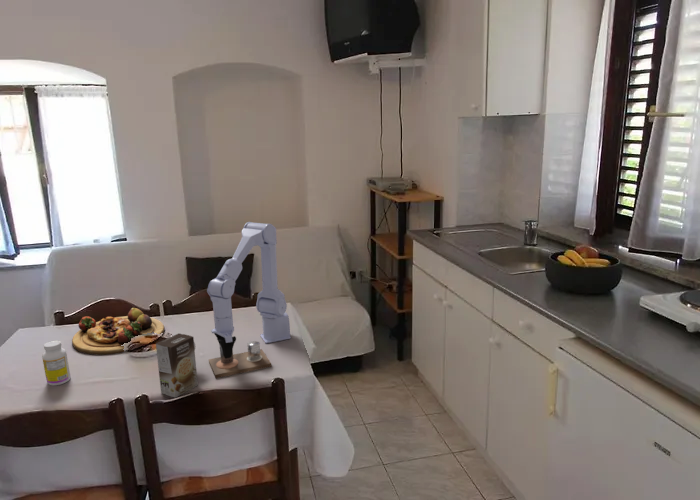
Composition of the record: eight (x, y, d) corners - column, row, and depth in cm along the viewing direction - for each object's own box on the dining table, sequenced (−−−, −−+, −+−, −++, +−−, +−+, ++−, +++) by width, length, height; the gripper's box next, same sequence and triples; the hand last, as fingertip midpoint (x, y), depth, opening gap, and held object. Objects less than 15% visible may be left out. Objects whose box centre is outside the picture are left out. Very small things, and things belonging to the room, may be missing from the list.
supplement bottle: (52, 376, 175) (46, 339, 172) (74, 375, 176) (68, 338, 172) (43, 387, 169) (36, 348, 165) (65, 385, 169) (58, 347, 166)
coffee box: (175, 398, 160) (169, 348, 156) (160, 393, 163) (154, 343, 159) (198, 384, 168) (193, 336, 164) (183, 380, 171) (178, 332, 167)
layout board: (261, 352, 189) (260, 335, 187) (271, 366, 178) (270, 348, 177) (208, 362, 182) (207, 344, 180) (215, 378, 171) (213, 359, 170)
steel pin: (231, 357, 181) (229, 337, 179) (235, 361, 177) (233, 341, 176) (219, 360, 179) (217, 340, 177) (223, 364, 176) (221, 344, 174)
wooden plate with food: (52, 347, 197) (48, 326, 195) (120, 315, 226) (117, 296, 223) (119, 363, 185) (116, 341, 183) (182, 328, 213) (180, 308, 211)
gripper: (206, 310, 179) (210, 348, 183) (214, 325, 166) (218, 366, 170) (228, 306, 182) (231, 344, 185) (237, 321, 169) (240, 361, 172)
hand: (226, 354), depth 178 cm, fingers closed on steel pin, 4 cm apart
